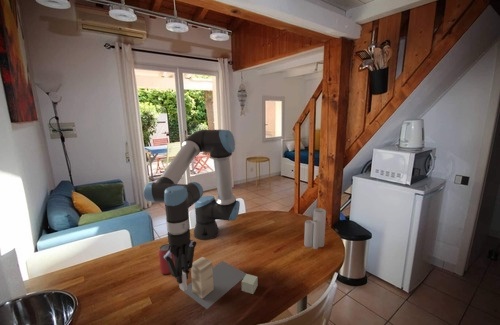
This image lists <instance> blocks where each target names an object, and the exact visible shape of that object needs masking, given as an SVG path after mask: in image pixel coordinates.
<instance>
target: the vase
mask: <svg viewBox="0 0 500 325" xmlns="http://www.w3.org/2000/svg"><path fill="white" fill-rule="evenodd" d="M312 216H313V217H312V220H311V219H306V220H305V221H304V238H303V246H304V247H306V248H312V249H314V250H318V249H319V248H322V247H324V246H325V239H326V238H325V236H326V235H325V234H326V216H327V210H326V209H324V208H321V207H315V208H313V215H312Z"/></svg>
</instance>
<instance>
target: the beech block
mask: <svg viewBox="0 0 500 325" xmlns="http://www.w3.org/2000/svg"><path fill="white" fill-rule="evenodd" d="M213 267H214V266H213V262H212V261H211V260H210V259H208V258H206V257H204V256H201V257H199V258H198V259H196V260H193V264H192V268H190V274H191V282H192V292H193V293H194V294H196V295H197V296H198V297H200V298H201V299H203V298H205V297H206V296H207V295H208V294H210V293H211V292H212V291H213V290H214V287H213Z"/></svg>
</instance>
